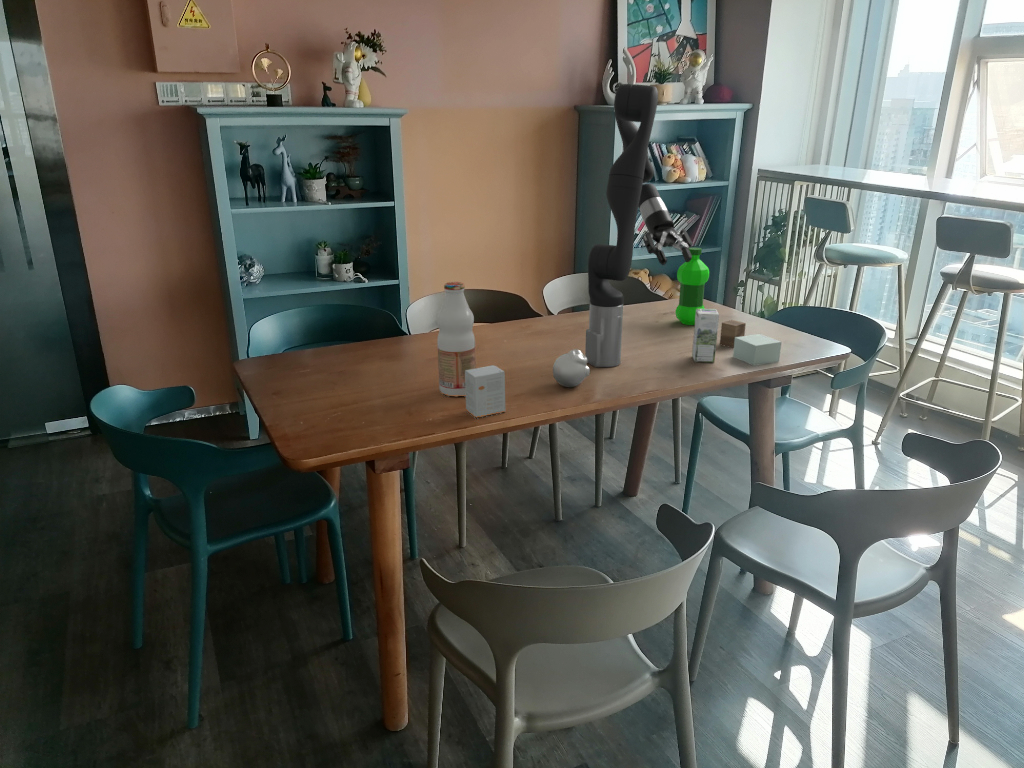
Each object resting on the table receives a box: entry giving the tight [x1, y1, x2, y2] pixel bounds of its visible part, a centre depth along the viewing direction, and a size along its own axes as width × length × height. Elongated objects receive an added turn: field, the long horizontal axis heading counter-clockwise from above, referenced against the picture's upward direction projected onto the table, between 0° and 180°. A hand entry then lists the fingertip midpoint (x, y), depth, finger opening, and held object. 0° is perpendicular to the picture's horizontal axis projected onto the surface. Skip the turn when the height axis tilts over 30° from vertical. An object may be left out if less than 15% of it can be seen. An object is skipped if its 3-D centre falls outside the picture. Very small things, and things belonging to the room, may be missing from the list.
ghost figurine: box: [552, 348, 591, 388], centre depth 193 cm, size 9×10×10 cm
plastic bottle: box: [674, 247, 710, 326], centre depth 248 cm, size 10×10×25 cm
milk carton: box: [691, 308, 720, 363], centre depth 212 cm, size 6×6×14 cm
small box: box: [465, 364, 506, 417], centre depth 176 cm, size 8×6×10 cm
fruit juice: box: [436, 281, 477, 395], centre depth 187 cm, size 9×9×28 cm
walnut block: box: [719, 319, 746, 349], centre depth 227 cm, size 5×5×7 cm
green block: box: [732, 333, 782, 366], centre depth 214 cm, size 9×9×6 cm
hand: (677, 262), depth 215 cm, fingers open, 8 cm apart
